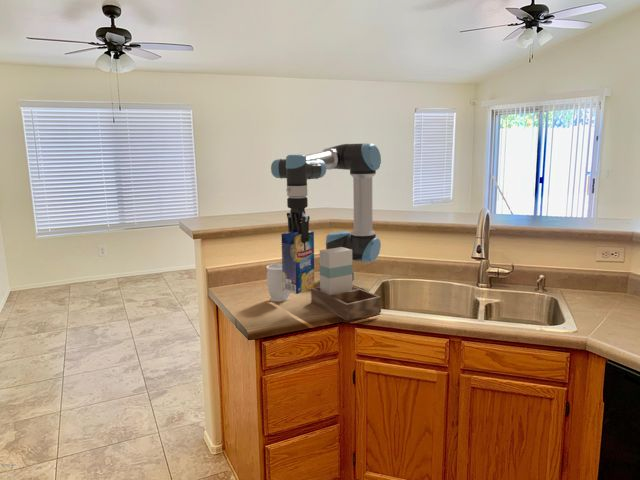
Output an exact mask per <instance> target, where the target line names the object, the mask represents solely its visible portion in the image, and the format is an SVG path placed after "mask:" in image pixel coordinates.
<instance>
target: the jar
mask: <svg viewBox="0 0 640 480" xmlns="http://www.w3.org/2000/svg"><path fill="white" fill-rule="evenodd" d="M266 270H267V273H266V284H267V290H268V294H269V296H270V297H269V298H270V302H271V303H273V304H275V302H285V301H287V300H289V299H290V297H289V296H290V295H291V293H290V292H285V291H283V274H282V262H281V263H280V262H279V263H271V264H268V265H266Z"/></svg>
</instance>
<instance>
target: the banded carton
mask: <svg viewBox="0 0 640 480" xmlns="http://www.w3.org/2000/svg"><path fill="white" fill-rule="evenodd" d="M353 270H354V269H353V260H352V250H351V249H348V248H344V247H339V248H332V249H326V248H325V249H320V250H319V287H320V291H321V292H323V293H325V294H328V295H333V294H338V293H342V292H347V291H352V286H353V280H352V274H353V273H354V271H353Z"/></svg>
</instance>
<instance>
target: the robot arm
mask: <svg viewBox="0 0 640 480" xmlns="http://www.w3.org/2000/svg"><path fill="white" fill-rule="evenodd" d="M381 156H382V155H381V152H380V150H379V148H378V147H377V145H375V144H374V143H368V142H367V143H366V142H364V143H343V144H338V145H335V146H331V147H328V148H327V147H326V148H324V149H323V150H322V151H319V152H314V153H310V154H289V155H288V154H287V156H286V157H285V158H284V159H283V158H280V159H275V160H273V161H272V163H271V165H270V166H271V167H270V173H271V174H272V176H273V177H274V178H276V179H286V196H287V199H286V200H287V201H286V205H287V208H288V209H289V210H290V211H289V212H286V217H287V226H288V227H287V229H288V231H287V232H298V234H301V241H302V243H304V251H305V243H306V242H308V241H309V231H310V229H309V227H310V215H306V210H305V209H306V208H308V206H309V205H308V197H307V196H308V180H319V179H321V178H322V177H325V175H326V173H327V170H344V171H345V170H347V171H348V170H349V174H350V176H351V177H352V178H353V181H352V182H353V187H352V188H353V230H352V231H351V232H350V231H347V230H346V231H345V230H344V231H335V232H331V233H328V234H327V235H326V239H325V249H332V248H339V247H344V248H348V249H351V250H352V261H355V262H362V263H373V262H374V261H376V259H378V256H379V254H380V251H381V246H382V245H381V239H380V238H378V237H377V236H376V235H377V234H376V231H374V229H373V177H374V176H376V171H377V170H379V169H380V167H381V163H382V159H381V158H382V157H381ZM354 279H355V273H354V272H353V274H352V281H353V280H354Z"/></svg>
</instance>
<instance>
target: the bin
mask: <svg viewBox="0 0 640 480" xmlns="http://www.w3.org/2000/svg"><path fill="white" fill-rule="evenodd" d="M310 299H311V303H312V304H314V305H315V306H318V307H319V308H321V309H323V310H325V311H327V312H329V313H331V314H333V315H335V316H337V317H338V318H341V319H343V320H345V321H348V322H346V324H349V323H352V322H357V321H360V320H364V319H367V318H368V319H369V318H372V317H376V316H380V315H381V312H382V296H379V294H378V295H377V294H376V293H373V292H369V291H367V290H366V289H362V288H359V287H357V286H355V285H352V291H347V292H342V293H338V294H333V295H328V294H325V293H323V292H321V291H320V286H316V287H315V286H314V287H313V288H311V289H310ZM374 314H375V315H374ZM370 315H371V316H370ZM366 316H367V317H366ZM362 317H363V318H362Z"/></svg>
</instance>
